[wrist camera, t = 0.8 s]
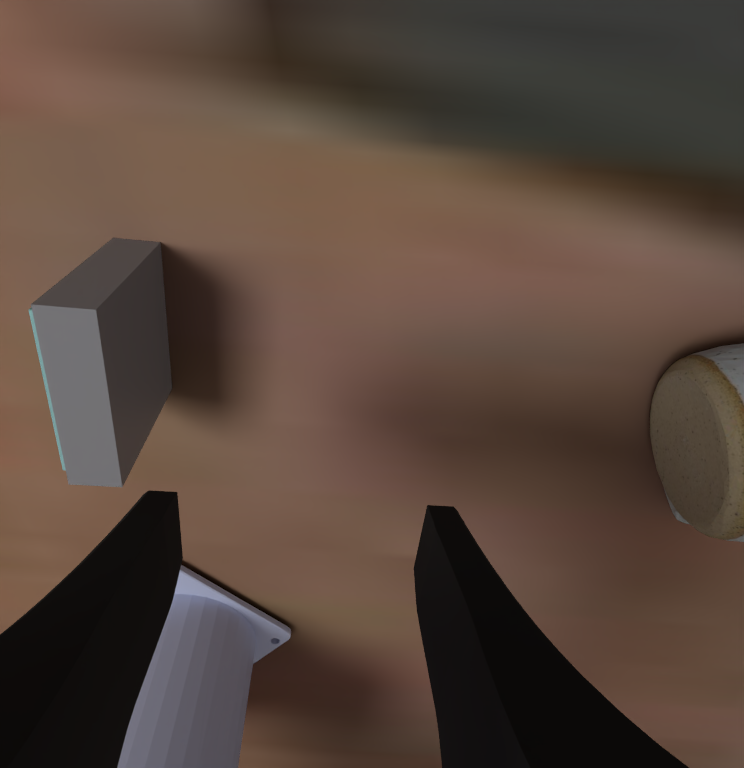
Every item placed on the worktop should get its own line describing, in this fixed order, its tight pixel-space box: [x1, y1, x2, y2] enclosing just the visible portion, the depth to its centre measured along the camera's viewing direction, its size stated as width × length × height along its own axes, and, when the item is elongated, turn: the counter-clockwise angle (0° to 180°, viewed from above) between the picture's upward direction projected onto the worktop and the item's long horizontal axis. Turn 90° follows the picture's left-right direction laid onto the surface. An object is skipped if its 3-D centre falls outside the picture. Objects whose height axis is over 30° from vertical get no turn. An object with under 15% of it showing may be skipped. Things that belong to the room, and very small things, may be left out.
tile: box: [29, 238, 172, 487], centre depth 18 cm, size 2×6×6 cm, turn 174°
